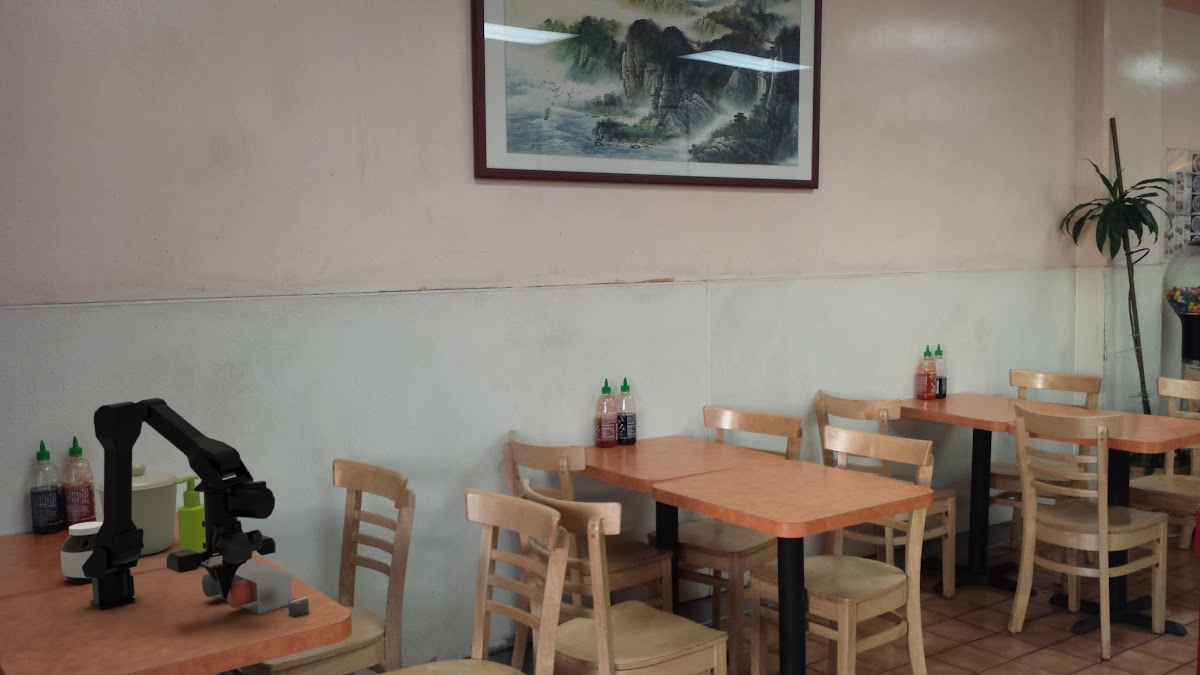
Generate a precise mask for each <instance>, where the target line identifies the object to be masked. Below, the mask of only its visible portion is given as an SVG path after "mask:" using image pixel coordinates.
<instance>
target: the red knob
mask: <svg viewBox="0 0 1200 675" xmlns="http://www.w3.org/2000/svg"><path fill="white" fill-rule="evenodd" d="M291 585H293V579H292V577H291ZM251 600H252V590H251V586H250V584H249V583H248V581H246V580H244V581H240V582H236V583H232V584H231V587H230V590H229V593H228V596H227V601H226V602H227V603H228V604H229V605H228V606H230V607H231V608H236V607H240V606H241V605H245V604H248V603H250V602H251Z"/></svg>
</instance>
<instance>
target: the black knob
mask: <svg viewBox="0 0 1200 675" xmlns="http://www.w3.org/2000/svg"><path fill="white" fill-rule="evenodd" d="M201 587H202V591H203V593H204V596H206V597H207V598H211V597H217V596H216V595H220V594H219V592H218V590H217V588H216V585H215V583H214V581H213V580H212V578H211V576H210V574H209V573H207V574H204V575H203V576H202V578H201Z"/></svg>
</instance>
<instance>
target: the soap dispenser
mask: <svg viewBox="0 0 1200 675" xmlns="http://www.w3.org/2000/svg"><path fill="white" fill-rule="evenodd" d="M179 478H180V479H178V480H176V481H174V483H176V484H177V485H181V484H182V485H183V483H186V490H185V491H183V492H182V499H183V501H182V502H183V505H182V506H180V507H178V508H177V516H178V517H177V518H178V533H179V534H178V536H179V537H178V538H179V551H181V550H186V549H189V550H192V551H195V552H203V551H206V549H204V548H203V543H205V542H206V539H205V527H202V521H205V514H204V504H201V495H200V493H201V492H195V491H194V488H195V487H196V481H195V480H198V479H199V477H198V475H195V476H194V475H191V476H190V475H189V476H184V477H179ZM201 568H203V567H199V568H198V569H201Z"/></svg>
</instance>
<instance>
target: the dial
mask: <svg viewBox="0 0 1200 675" xmlns="http://www.w3.org/2000/svg"><path fill="white" fill-rule="evenodd" d="M287 608H288V616H289V617H290V616H292V617H291V618H299V617H298V616H302V617H304V616H303V615H305V616H307V615H309V614H310V606H309V599H308V598H307V596H306V597H298V598H292V600H290V601H289V602H288V606H287ZM308 613H309V614H308ZM306 614H307V615H306Z"/></svg>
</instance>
